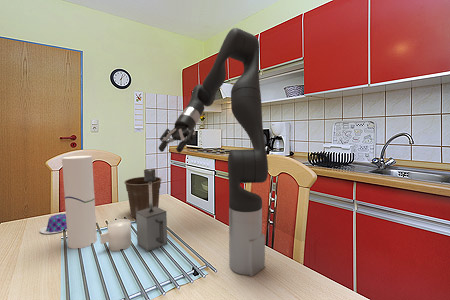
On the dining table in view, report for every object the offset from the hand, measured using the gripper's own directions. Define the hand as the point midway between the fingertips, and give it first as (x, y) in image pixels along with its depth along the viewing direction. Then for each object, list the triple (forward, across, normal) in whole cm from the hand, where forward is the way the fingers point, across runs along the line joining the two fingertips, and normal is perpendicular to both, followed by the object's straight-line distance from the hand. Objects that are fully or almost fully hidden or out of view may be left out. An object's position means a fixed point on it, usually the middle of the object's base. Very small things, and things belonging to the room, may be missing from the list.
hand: (168, 150), depth 85 cm
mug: (+34, +8, -10) cm, 37 cm away
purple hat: (+35, +43, -10) cm, 56 cm away
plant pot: (+16, +24, -29) cm, 41 cm away
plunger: (+22, -1, -8) cm, 24 cm away
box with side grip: (+29, -2, -15) cm, 33 cm away
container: (+37, +22, -8) cm, 43 cm away
